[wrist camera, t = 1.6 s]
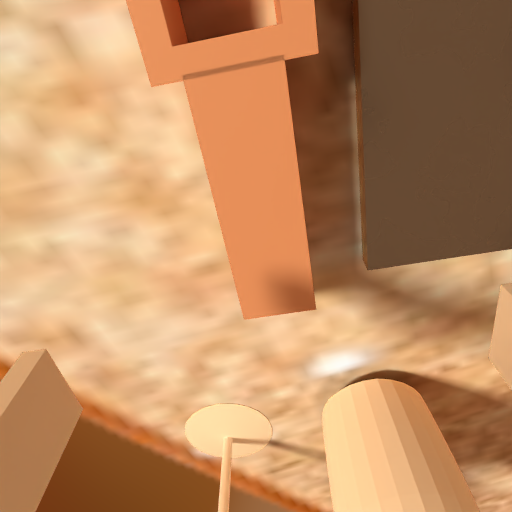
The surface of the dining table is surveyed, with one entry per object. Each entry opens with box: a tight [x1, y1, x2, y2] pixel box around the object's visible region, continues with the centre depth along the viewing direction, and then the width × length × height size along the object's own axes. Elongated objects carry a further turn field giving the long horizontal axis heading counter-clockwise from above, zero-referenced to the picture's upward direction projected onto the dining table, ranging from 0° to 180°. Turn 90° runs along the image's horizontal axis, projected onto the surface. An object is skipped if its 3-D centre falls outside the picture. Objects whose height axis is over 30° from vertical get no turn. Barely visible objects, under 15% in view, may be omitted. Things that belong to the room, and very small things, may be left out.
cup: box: [322, 379, 480, 512], centre depth 24 cm, size 8×8×14 cm
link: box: [126, 0, 319, 319], centre depth 18 cm, size 19×7×4 cm, turn 10°
